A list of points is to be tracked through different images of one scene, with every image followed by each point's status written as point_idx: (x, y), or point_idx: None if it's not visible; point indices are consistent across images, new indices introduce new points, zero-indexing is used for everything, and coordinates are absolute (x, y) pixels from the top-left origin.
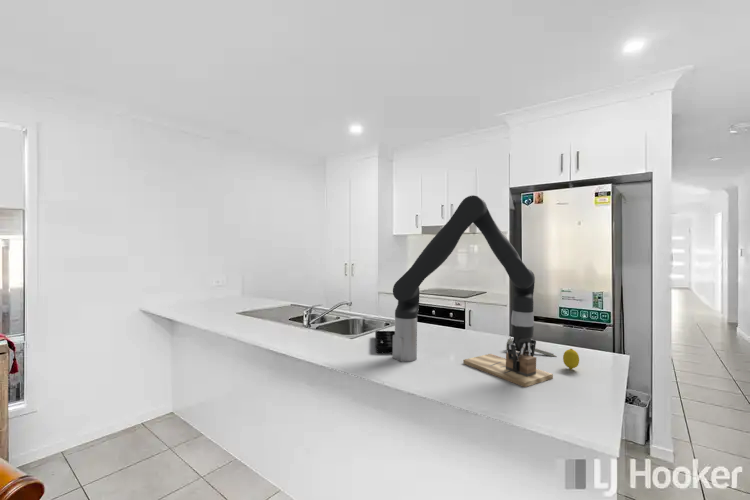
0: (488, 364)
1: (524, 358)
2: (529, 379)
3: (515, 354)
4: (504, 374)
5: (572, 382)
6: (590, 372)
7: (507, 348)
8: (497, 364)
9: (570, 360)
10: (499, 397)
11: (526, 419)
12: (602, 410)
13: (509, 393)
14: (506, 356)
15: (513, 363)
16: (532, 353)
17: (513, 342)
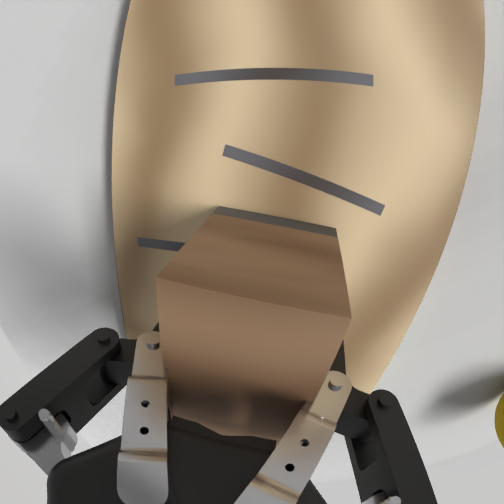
0: (204, 47)
1: None
2: None
3: (94, 407)
4: (121, 254)
5: None
6: (494, 419)
7: (23, 387)
8: (272, 93)
9: (499, 430)
10: (22, 305)
11: (30, 372)
12: None
13: (57, 319)
14: (176, 259)
15: (157, 326)
16: (349, 446)
17: (48, 476)
